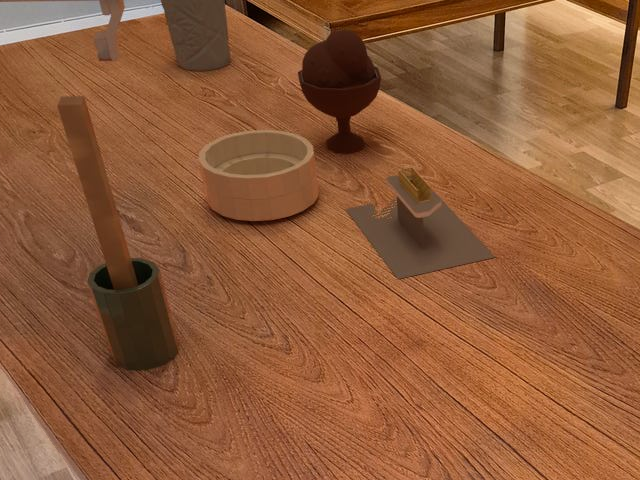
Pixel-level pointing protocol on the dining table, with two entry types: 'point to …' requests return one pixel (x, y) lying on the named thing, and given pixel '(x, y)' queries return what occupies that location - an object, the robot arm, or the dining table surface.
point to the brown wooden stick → (97, 190)
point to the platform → (418, 230)
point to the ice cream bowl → (340, 84)
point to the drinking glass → (198, 33)
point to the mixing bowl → (259, 175)
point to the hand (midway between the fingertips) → (48, 60)
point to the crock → (135, 317)
